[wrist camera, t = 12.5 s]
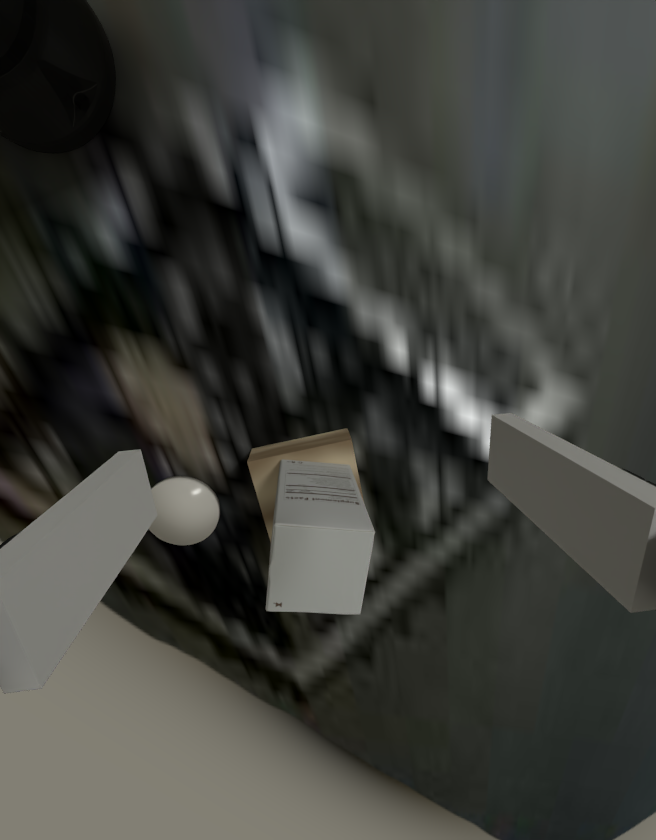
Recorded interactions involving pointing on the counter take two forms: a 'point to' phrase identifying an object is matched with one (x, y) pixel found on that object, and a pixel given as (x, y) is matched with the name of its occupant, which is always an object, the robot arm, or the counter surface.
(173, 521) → the cream smooth round part
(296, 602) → the supplement box
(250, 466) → the maple block
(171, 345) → the counter surface
